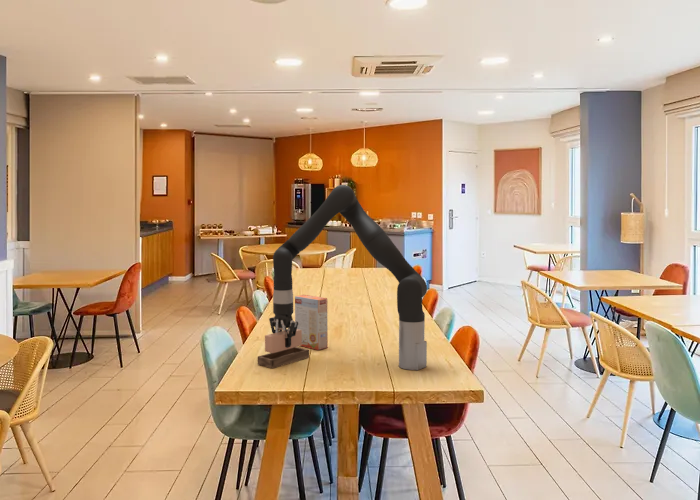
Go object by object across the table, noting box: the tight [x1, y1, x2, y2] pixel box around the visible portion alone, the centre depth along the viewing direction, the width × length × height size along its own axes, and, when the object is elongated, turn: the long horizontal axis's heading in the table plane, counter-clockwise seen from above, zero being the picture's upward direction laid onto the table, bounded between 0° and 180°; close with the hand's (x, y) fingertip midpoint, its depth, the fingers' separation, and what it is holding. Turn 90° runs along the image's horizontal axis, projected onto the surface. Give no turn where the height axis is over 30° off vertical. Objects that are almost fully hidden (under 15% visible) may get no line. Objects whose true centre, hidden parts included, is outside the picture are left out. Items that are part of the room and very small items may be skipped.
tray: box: [257, 346, 310, 369], centre depth 219 cm, size 8×19×3 cm, turn 140°
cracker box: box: [294, 294, 329, 351], centre depth 239 cm, size 14×6×21 cm, turn 47°
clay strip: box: [264, 329, 302, 354], centre depth 218 cm, size 15×4×6 cm, turn 139°
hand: (283, 345), depth 219 cm, fingers closed on clay strip, 4 cm apart
